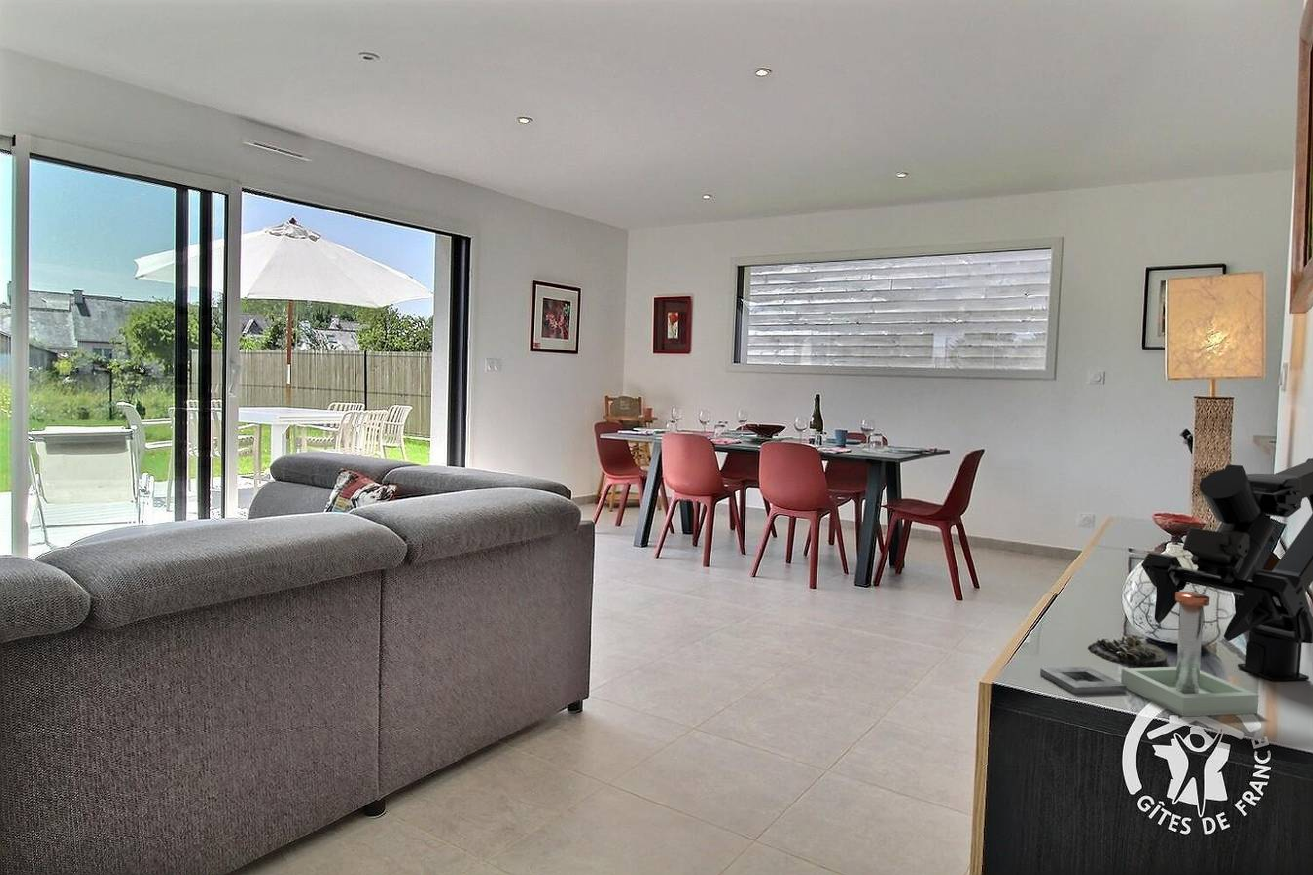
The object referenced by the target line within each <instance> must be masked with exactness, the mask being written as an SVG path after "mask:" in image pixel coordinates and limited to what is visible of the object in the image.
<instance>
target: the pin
mask: <svg viewBox="0 0 1313 875" xmlns="http://www.w3.org/2000/svg"><path fill="white" fill-rule="evenodd" d="M1175 601H1176V602H1177V603H1179V609H1178V610H1179V612H1178V613H1179V614H1178V630H1177V632H1178V633H1177V648H1176V649H1177V650H1176V664H1175V667H1176V685H1175V690H1176V691H1178V692H1180V693H1182V694H1199V684H1200V670H1201V664H1202V663H1201V661H1202V646H1203V645H1202V644H1203V627H1204V626H1203V624H1204V622H1203V621H1204V607H1207V606H1210V596H1208V595H1207V594H1203V593H1198V592H1192V591H1189V592H1188V591H1179V592H1176V593H1175Z"/></svg>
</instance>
